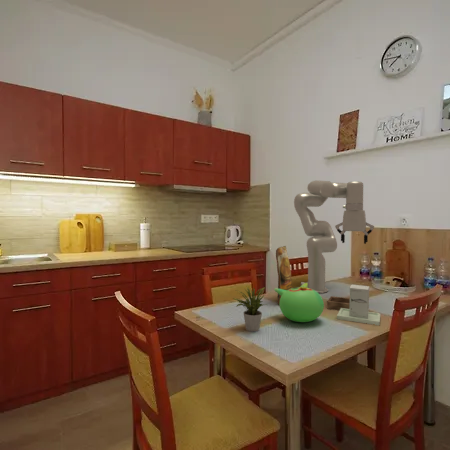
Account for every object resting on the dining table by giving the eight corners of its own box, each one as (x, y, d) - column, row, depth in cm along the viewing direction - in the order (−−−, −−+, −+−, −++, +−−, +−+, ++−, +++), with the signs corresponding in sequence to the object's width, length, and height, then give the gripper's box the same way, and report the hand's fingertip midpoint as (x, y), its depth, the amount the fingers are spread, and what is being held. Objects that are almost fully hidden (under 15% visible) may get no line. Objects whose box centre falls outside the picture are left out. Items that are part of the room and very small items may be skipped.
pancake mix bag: (270, 305, 147) (271, 247, 147) (284, 296, 164) (285, 244, 163) (284, 307, 144) (284, 248, 143) (297, 298, 160) (297, 245, 159)
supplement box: (348, 317, 127) (349, 287, 127) (350, 312, 134) (351, 283, 133) (368, 320, 124) (368, 289, 123) (369, 315, 130) (369, 285, 130)
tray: (336, 318, 127) (336, 315, 127) (340, 311, 138) (340, 307, 138) (379, 325, 120) (379, 321, 120) (380, 316, 130) (380, 313, 130)
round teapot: (290, 329, 115) (290, 291, 115) (272, 315, 131) (272, 282, 131) (331, 325, 120) (332, 288, 120) (308, 312, 136) (309, 279, 136)
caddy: (327, 308, 142) (327, 301, 142) (330, 303, 151) (331, 296, 151) (351, 312, 137) (351, 304, 137) (353, 306, 146) (353, 298, 146)
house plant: (249, 318, 127) (249, 280, 127) (278, 326, 119) (278, 285, 118) (227, 328, 116) (227, 286, 116) (258, 337, 108) (258, 292, 107)
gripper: (334, 207, 146) (333, 243, 147) (374, 207, 138) (373, 244, 138) (336, 208, 153) (336, 241, 153) (374, 207, 144) (374, 243, 145)
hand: (354, 243), depth 146 cm, fingers open, 9 cm apart
